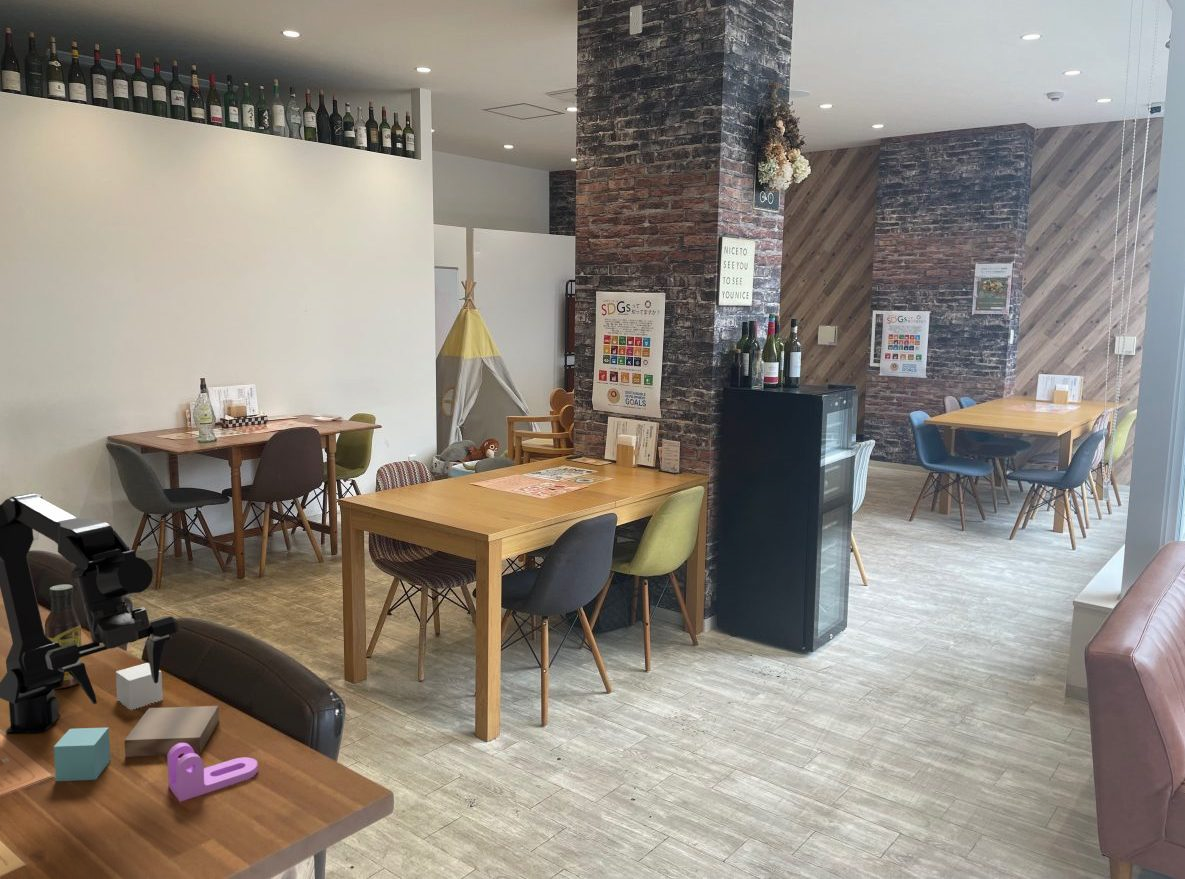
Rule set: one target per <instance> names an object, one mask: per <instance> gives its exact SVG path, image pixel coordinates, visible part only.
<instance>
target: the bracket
mask: <svg viewBox="0 0 1185 879" xmlns="http://www.w3.org/2000/svg"><path fill="white" fill-rule="evenodd" d="M182 753H184V754H182ZM180 754H182V756H181V755H180ZM179 756H181V757H179ZM166 758H167V775H168V776H167V782H168V788H169V790H170V791H171V792H172V793H173V795H174V796H175V797H176V799H177V800H178V802H180V803H181V802H184V801H187V800H189V799H192V798H195V797H200V796H202V795H205V794H208V793H212V792H214V791H217V790H221V789H222V788H227V787H229V785H230V786H232V785H235V783H236V784H238V782H239V783H241V781H242V782H245V781H247V779H248V780H250V779H252V778H254V777H255V776H256V775H257V774H256V773H258V770H259V769H258V768H259V766H258V760H256V759H255V758H252V757H247V756H246V757H245V756H244V757H237V758H233V759H230V760H226V761H224V762H221V763H217V764H214V765H210V766H207V767H204V761H203V759H202V758H201V757H200V755H199V754H195V753H194V750H193V749H192V747H191V746H190V745H189V744H187V743H178V744H176V745H174V746H173V747H172V748H171V749H170V750H169V752H168V755H166ZM255 774H256V775H255ZM254 775H255V776H254ZM251 777H252V778H251ZM249 778H250V779H249ZM244 780H245V781H244Z"/></svg>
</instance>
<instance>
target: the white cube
mask: <svg viewBox="0 0 1185 879" xmlns="http://www.w3.org/2000/svg"><path fill="white" fill-rule="evenodd" d="M115 681H116V682H115V685H116V701H117V700H118V701H120V702H121V703H122V704H121V703H120V702H119V703H120V704H121V705H123V706H124V707H125V706H126V707H125V708H126V709H128V710H129V709H130V710H129V711H132V710H133V709H134V710H135V709H136V708H137V709H139V707H140V708H143V707H146V706H149V705H151V704H150V703H153V704H155V703H154V702H156V703H159V702H162V701H164V700H163V699H164V696H163V695H164V694H163V677H162V671H161V670H160V669H159V678H158V683H154V681H153V678H152V675H151V670H150V664H149V662H145V663H142V664H138V665H134V666H131V667H127V668H123V669H119V670H116V671H115ZM161 700H162V701H161ZM118 701H117V702H118ZM158 701H159V702H158ZM148 704H149V705H148ZM145 705H146V706H145ZM142 706H143V707H142ZM134 710H133V711H134Z"/></svg>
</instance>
